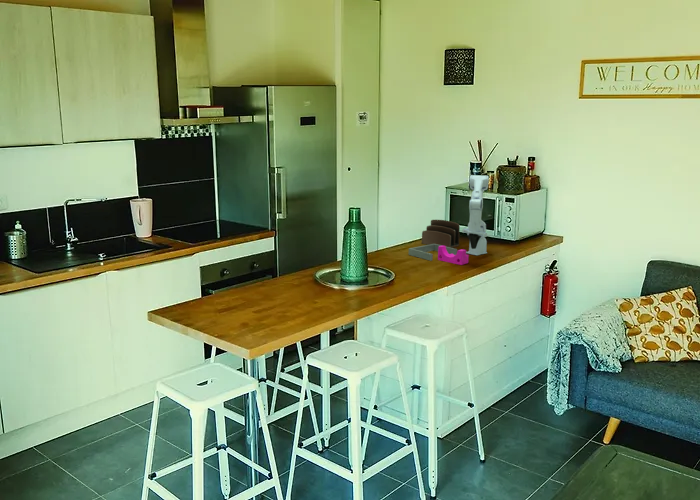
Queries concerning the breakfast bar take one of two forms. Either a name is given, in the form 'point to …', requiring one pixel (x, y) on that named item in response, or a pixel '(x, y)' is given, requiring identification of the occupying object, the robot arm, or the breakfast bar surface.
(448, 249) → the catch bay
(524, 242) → the breakfast bar surface
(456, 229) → the letter holder
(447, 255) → the toy block
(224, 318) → the breakfast bar surface
